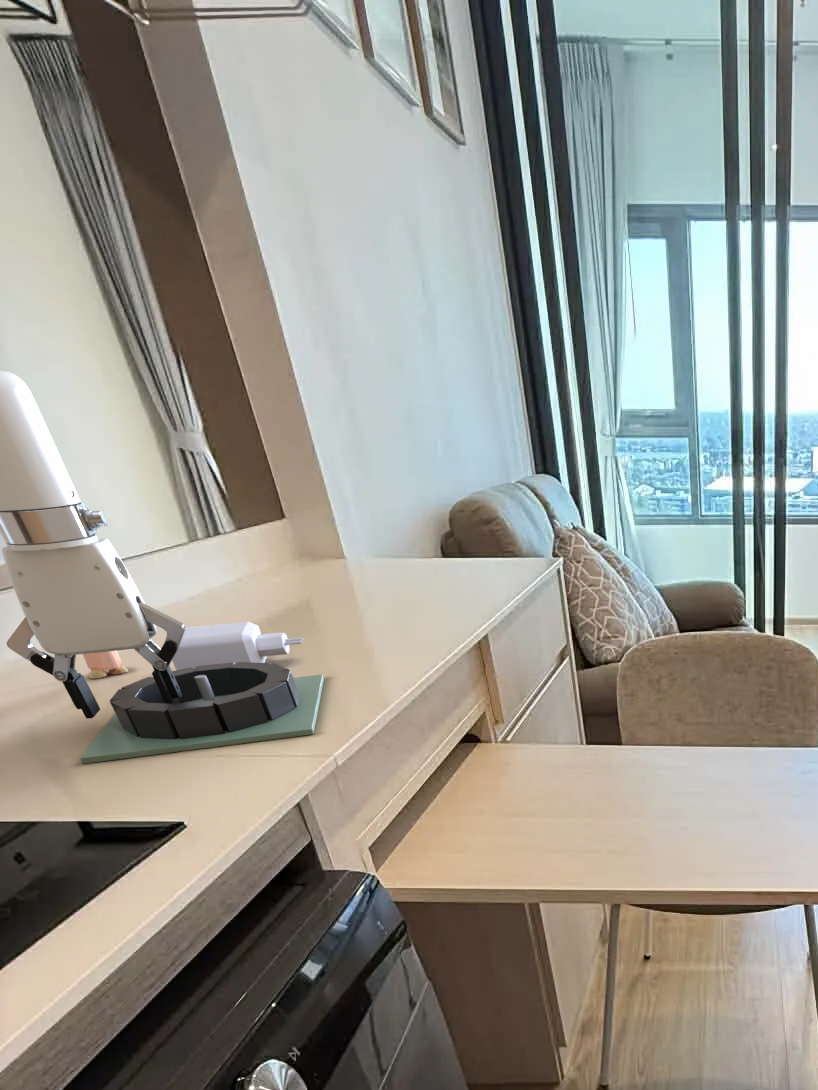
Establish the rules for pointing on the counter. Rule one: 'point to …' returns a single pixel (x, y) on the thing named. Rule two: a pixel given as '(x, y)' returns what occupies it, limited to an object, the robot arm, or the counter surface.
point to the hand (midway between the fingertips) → (134, 708)
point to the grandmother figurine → (104, 663)
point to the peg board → (291, 724)
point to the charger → (229, 645)
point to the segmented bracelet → (207, 701)
